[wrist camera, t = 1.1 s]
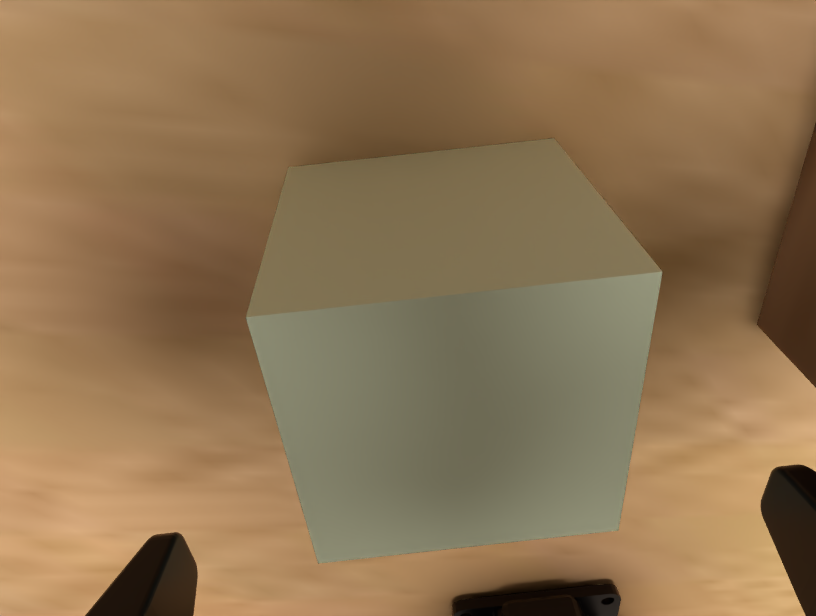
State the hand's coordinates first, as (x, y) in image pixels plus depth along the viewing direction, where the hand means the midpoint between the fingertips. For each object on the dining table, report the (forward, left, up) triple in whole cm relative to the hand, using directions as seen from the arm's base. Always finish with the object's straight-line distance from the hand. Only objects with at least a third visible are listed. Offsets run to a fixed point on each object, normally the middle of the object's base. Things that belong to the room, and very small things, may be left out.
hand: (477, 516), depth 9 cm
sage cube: (0, 0, -7) cm, 7 cm away
